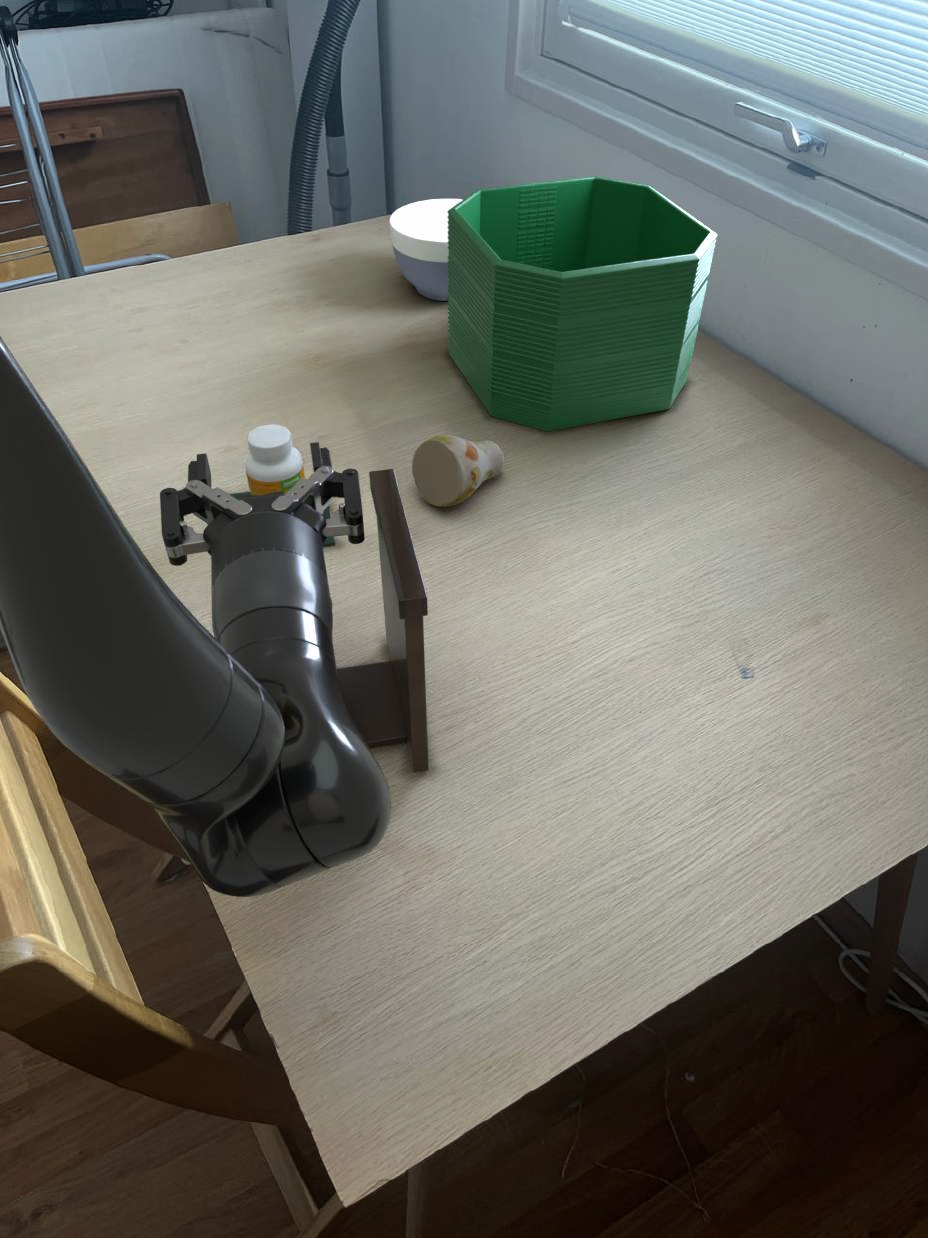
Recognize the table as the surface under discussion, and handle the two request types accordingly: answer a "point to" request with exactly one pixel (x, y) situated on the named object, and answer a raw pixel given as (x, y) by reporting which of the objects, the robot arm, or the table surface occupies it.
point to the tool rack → (394, 639)
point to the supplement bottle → (272, 460)
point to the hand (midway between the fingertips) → (259, 457)
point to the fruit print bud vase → (454, 468)
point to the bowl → (423, 245)
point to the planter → (574, 299)
